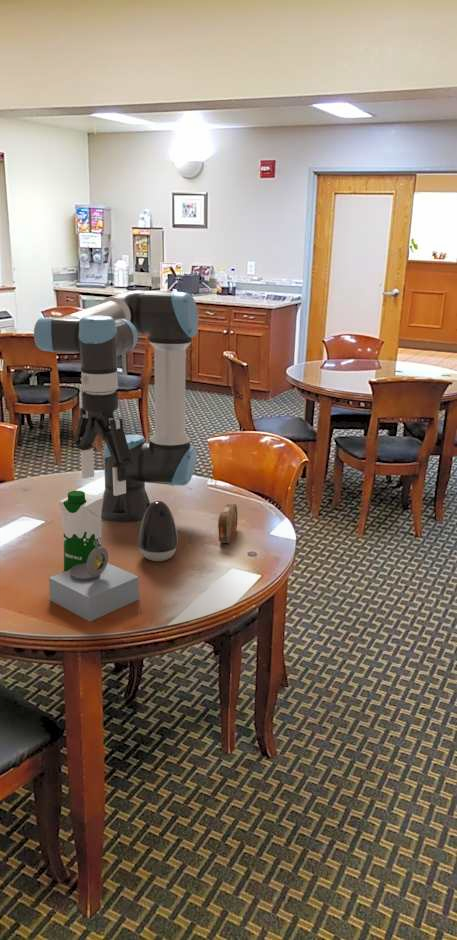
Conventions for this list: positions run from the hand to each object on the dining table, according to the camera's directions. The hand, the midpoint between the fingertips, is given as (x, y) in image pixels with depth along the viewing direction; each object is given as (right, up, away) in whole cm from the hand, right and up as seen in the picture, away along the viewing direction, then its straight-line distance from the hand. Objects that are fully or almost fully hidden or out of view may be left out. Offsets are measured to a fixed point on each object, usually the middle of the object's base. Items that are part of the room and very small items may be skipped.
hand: (103, 485), depth 160 cm
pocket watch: (-4, -20, +2) cm, 21 cm away
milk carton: (-8, -21, +19) cm, 30 cm away
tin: (+27, -15, +40) cm, 51 cm away
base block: (-3, -26, +3) cm, 27 cm away
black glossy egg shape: (+10, -19, +26) cm, 34 cm away
